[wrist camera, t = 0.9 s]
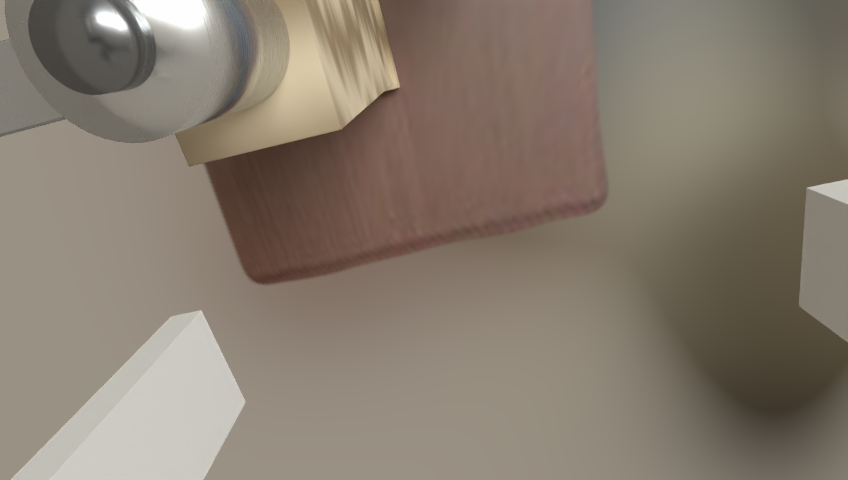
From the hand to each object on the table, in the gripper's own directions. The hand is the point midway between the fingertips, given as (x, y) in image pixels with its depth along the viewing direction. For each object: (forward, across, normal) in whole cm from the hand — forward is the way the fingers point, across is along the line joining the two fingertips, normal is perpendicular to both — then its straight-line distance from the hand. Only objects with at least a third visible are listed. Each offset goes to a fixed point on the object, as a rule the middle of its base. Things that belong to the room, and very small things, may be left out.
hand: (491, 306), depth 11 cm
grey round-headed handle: (+14, -14, +8) cm, 21 cm away
